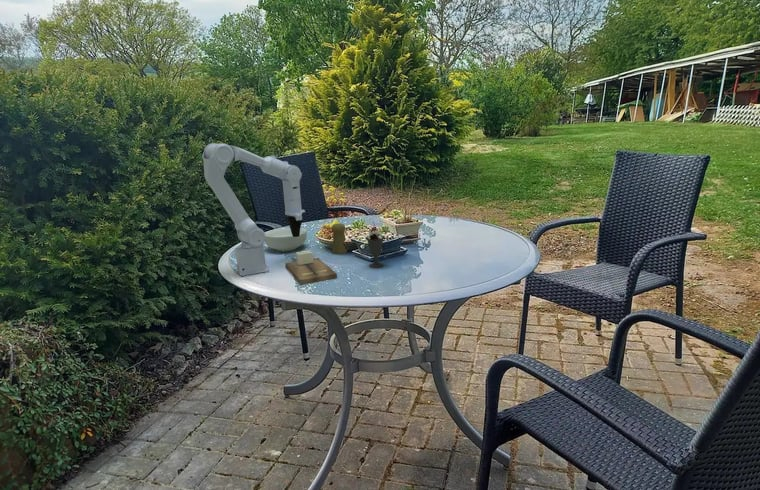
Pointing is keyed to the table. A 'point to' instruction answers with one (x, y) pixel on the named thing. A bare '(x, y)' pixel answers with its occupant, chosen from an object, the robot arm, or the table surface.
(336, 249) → the olive brown pepper mill
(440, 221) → the table surface
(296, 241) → the cereal bowl
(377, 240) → the sundae
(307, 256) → the cream block
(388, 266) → the table surface
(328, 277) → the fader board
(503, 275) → the table surface
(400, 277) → the table surface
